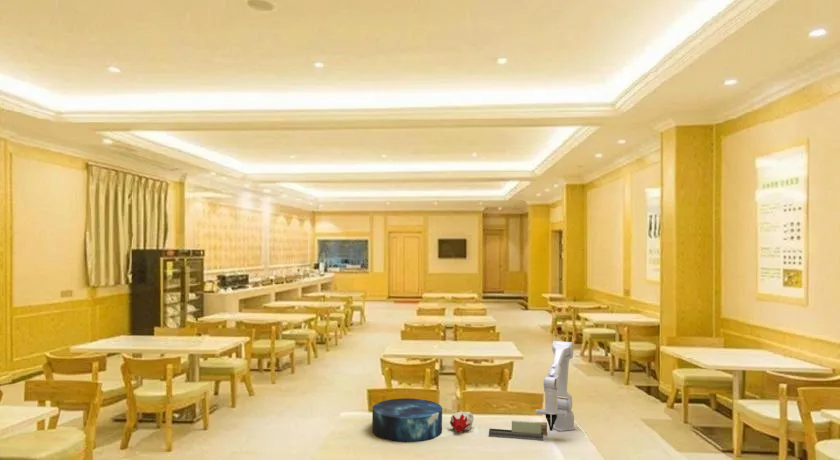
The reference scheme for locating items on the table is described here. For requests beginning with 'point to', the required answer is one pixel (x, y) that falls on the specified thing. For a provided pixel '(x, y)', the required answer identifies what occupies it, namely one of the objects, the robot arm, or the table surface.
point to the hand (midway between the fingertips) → (551, 430)
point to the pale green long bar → (526, 427)
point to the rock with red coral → (461, 421)
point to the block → (544, 428)
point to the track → (514, 434)
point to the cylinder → (407, 420)
